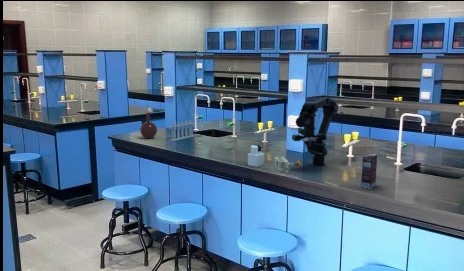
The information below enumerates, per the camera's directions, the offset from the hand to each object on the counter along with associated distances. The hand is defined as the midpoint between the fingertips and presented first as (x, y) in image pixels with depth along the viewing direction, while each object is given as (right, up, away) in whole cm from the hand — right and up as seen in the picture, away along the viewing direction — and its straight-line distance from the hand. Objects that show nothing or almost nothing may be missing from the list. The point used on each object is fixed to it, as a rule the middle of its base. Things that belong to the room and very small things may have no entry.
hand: (308, 152), depth 237 cm
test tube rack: (-83, +7, +93) cm, 125 cm away
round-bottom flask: (-109, +7, +93) cm, 143 cm away
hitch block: (-16, -10, -1) cm, 19 cm away
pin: (-10, -9, 0) cm, 14 cm away
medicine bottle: (-30, -8, +10) cm, 32 cm away
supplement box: (+24, -16, -31) cm, 42 cm away
